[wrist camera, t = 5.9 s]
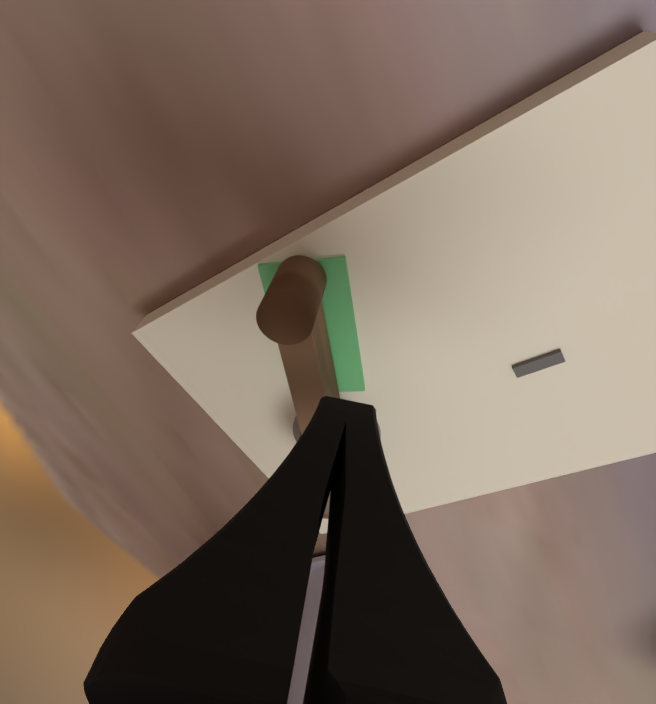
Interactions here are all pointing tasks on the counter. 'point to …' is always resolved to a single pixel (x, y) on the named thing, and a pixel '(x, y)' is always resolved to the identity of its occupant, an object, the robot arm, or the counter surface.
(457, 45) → the counter surface
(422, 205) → the dial board
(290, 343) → the wooden crank handle
